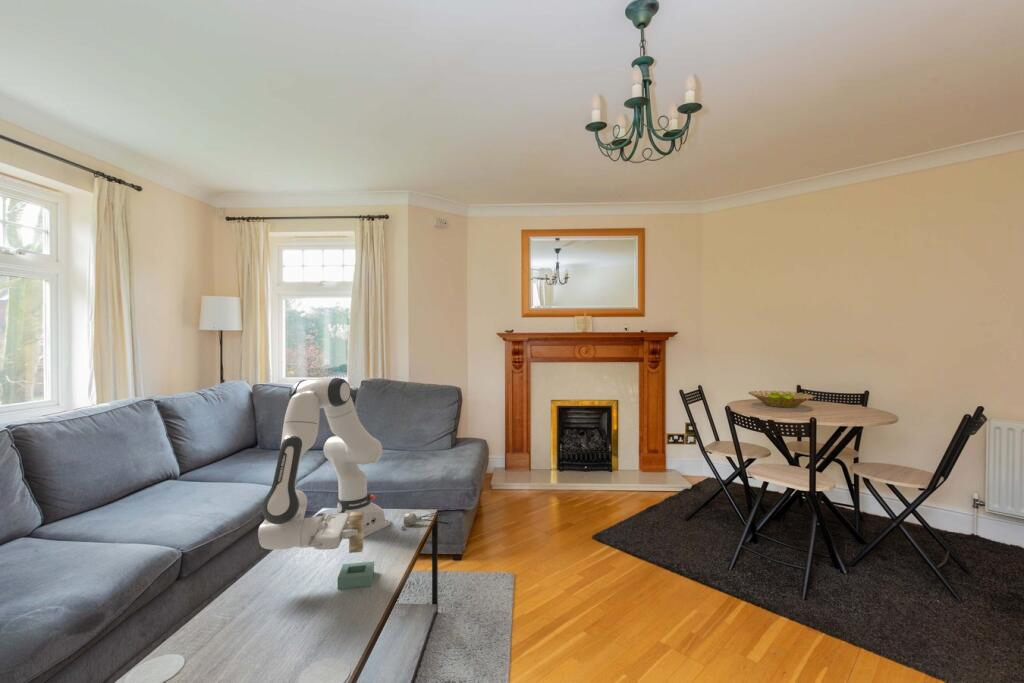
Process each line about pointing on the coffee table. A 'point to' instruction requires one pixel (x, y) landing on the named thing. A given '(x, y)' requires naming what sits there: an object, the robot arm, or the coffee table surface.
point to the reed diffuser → (417, 519)
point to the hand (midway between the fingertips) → (359, 528)
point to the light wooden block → (357, 540)
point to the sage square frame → (356, 575)
